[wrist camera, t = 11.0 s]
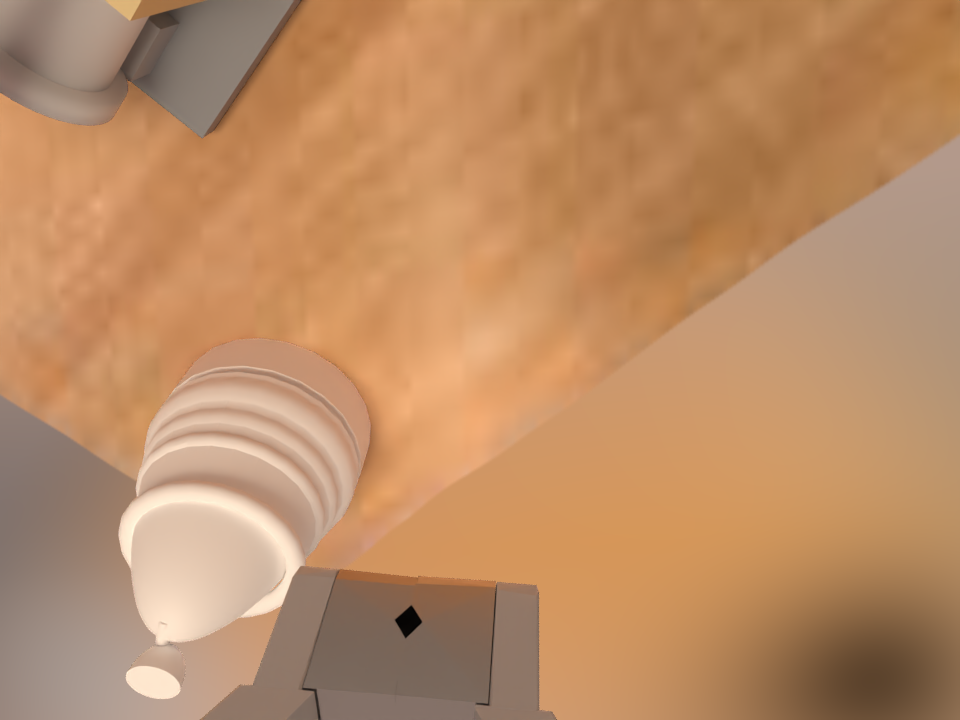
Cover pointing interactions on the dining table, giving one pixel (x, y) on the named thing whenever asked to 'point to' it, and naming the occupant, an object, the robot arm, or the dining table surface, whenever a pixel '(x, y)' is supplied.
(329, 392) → the honey pot
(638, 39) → the dining table surface
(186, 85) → the valve
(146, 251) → the dining table surface
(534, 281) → the dining table surface
